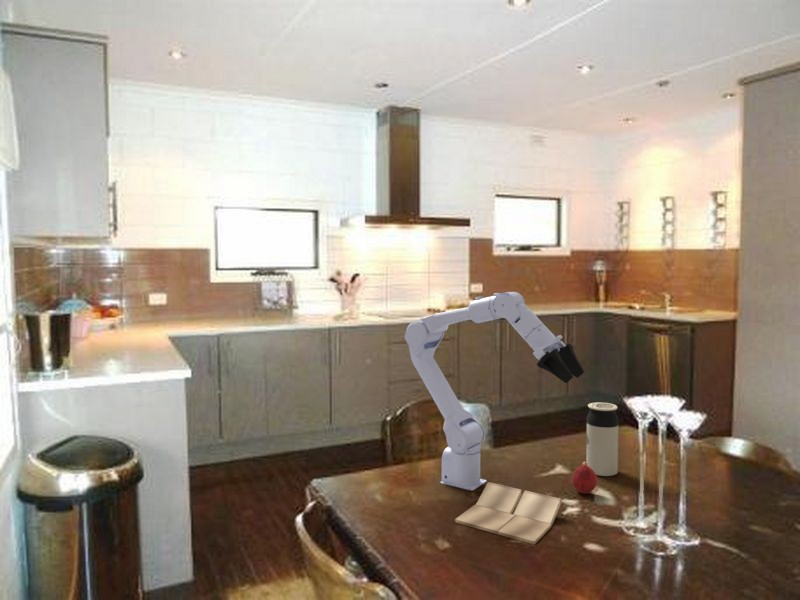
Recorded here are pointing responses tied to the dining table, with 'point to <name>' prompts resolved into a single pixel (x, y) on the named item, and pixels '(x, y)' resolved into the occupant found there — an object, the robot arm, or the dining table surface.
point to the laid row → (504, 524)
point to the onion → (584, 479)
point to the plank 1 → (499, 497)
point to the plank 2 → (538, 507)
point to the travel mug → (602, 439)
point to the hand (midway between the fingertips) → (575, 377)
